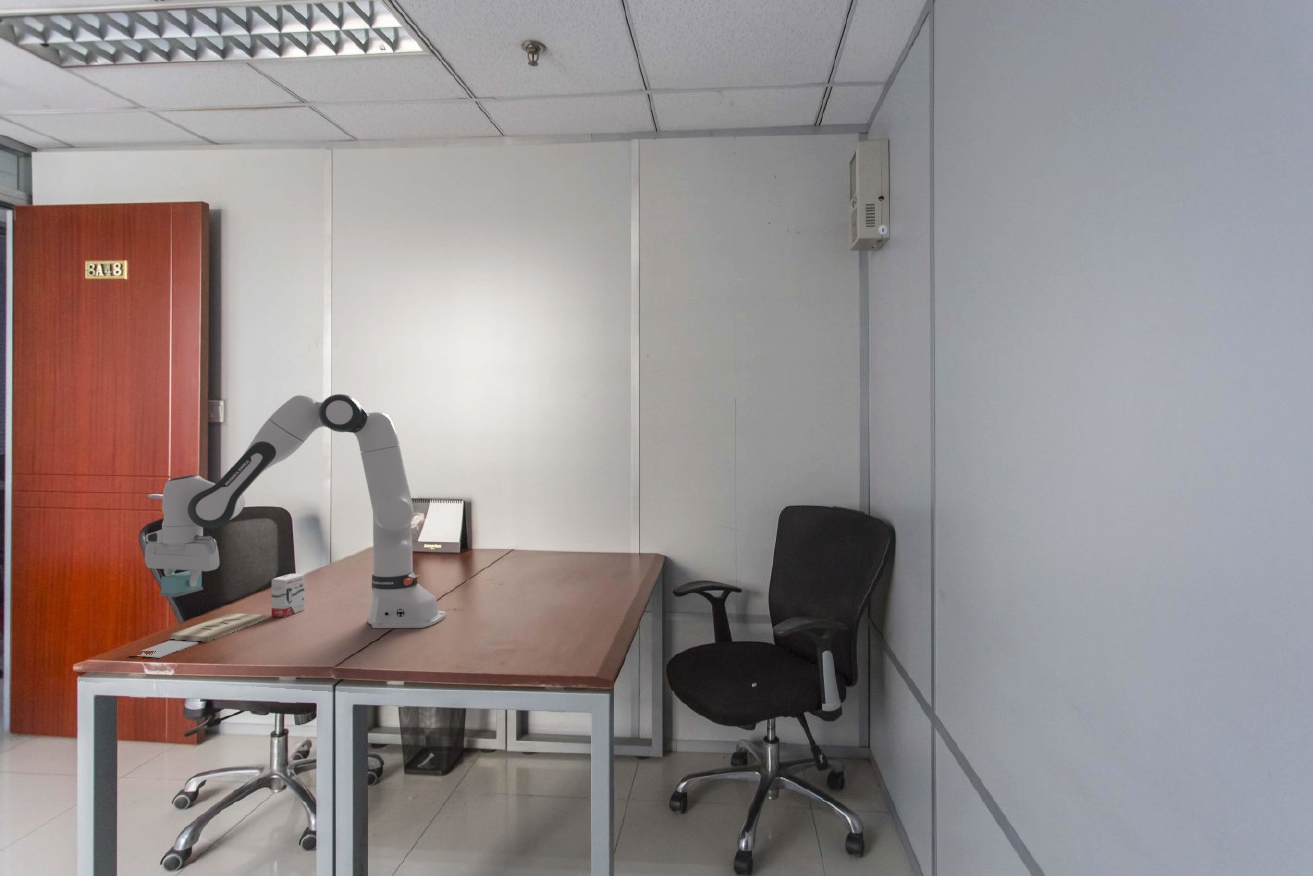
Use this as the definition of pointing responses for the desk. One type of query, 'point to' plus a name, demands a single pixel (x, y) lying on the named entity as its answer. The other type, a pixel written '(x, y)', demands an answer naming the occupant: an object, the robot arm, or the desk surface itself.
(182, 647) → the rest mat
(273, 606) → the ink box
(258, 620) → the birch board
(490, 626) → the desk surface
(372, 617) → the robot arm
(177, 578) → the sanding block
